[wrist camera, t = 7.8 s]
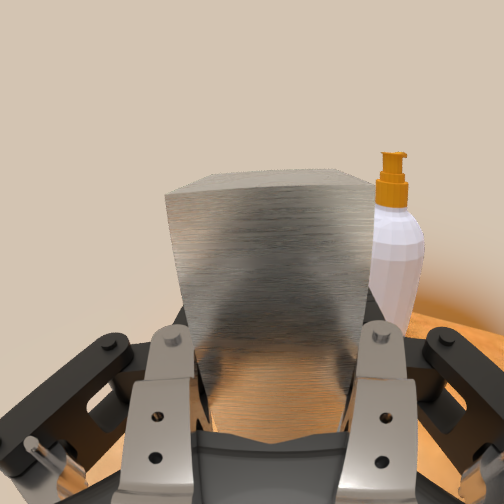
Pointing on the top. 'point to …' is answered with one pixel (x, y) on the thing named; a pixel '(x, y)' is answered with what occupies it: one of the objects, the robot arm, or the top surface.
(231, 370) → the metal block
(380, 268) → the soap bottle
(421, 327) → the top surface
